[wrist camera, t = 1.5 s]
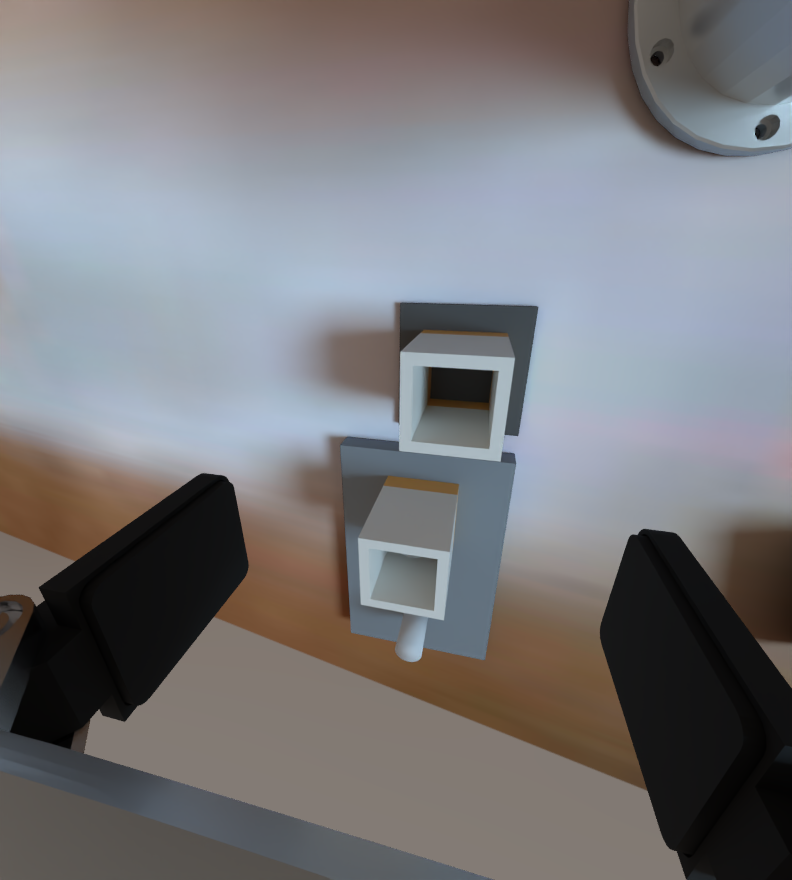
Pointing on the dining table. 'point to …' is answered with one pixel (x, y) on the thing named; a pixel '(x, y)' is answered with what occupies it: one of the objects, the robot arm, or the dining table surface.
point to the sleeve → (451, 421)
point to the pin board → (466, 546)
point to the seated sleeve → (409, 547)
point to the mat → (475, 319)
